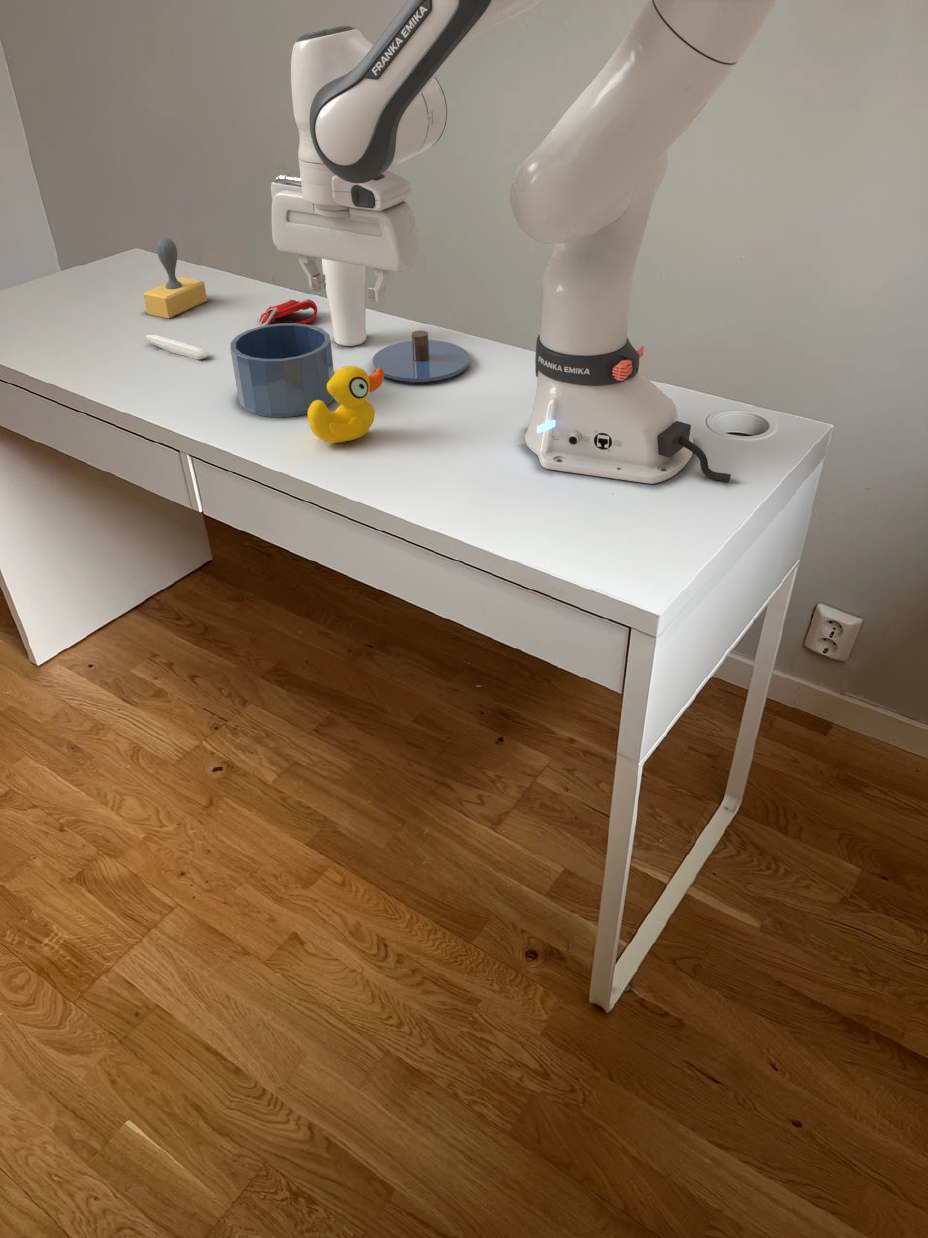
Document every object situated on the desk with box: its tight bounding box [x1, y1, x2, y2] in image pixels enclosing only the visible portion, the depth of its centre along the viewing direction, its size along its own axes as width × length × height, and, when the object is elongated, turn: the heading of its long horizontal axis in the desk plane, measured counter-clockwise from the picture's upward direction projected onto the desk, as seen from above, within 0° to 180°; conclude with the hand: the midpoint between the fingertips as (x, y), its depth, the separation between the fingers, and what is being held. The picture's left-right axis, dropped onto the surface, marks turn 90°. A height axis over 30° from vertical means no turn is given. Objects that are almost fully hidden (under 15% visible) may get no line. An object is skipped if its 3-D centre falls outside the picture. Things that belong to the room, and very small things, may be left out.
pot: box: [229, 322, 335, 418], centre depth 148 cm, size 14×14×8 cm
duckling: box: [307, 365, 385, 444], centre depth 136 cm, size 11×5×10 cm, turn 122°
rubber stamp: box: [143, 237, 208, 320], centre depth 178 cm, size 10×6×12 cm, turn 150°
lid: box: [371, 330, 471, 383], centre depth 157 cm, size 15×15×5 cm
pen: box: [145, 334, 208, 361], centre depth 165 cm, size 2×14×2 cm, turn 56°
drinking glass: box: [321, 259, 367, 347], centre depth 163 cm, size 7×7×15 cm
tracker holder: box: [257, 298, 318, 327], centre depth 173 cm, size 12×4×10 cm
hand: (347, 294), depth 131 cm, fingers open, 8 cm apart
